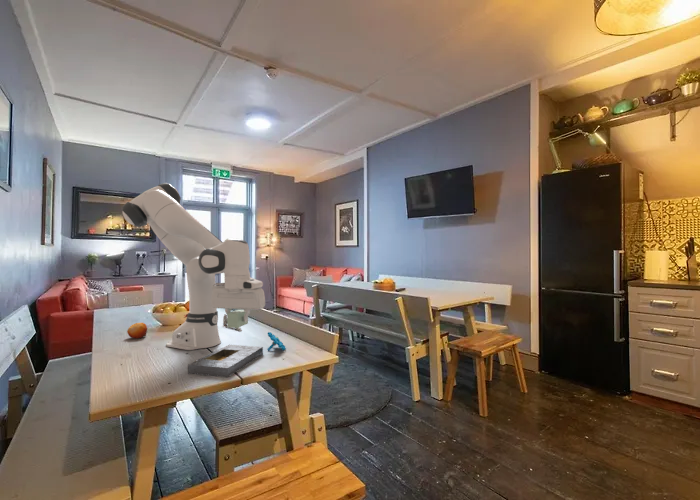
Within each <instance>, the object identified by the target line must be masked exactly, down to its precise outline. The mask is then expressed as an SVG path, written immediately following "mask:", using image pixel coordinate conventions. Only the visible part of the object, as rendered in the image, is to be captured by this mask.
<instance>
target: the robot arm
mask: <svg viewBox="0 0 700 500" xmlns="http://www.w3.org/2000/svg"><path fill="white" fill-rule="evenodd" d="M181 201H182V200H181V196H180V193H179V191H178V190H177V188H175V187H174V186H173V185H172V184H171V183H168V182H162V183H160V184H158V185H156V186H154V187H152V188H149V189H147V190H145V191H143V192H142V193H140V194H139V195H137V196H136V197H134V198H132V199H131V200H130V201H126V202H125V203H124V204H123V205H122V207H121V213H122V216H123V218H124V220H125V221H126V222H128V223H129V225H132V226H133V227H135V228H136V227H137V228H141V227H144V226H147V224H148V225H149V226H150V228H151V230H152V232H153V233H154V234H155V235H156V237H157V238H158V239H159V241H160V242H161V243H162V245H164V246H165V248H166V249H168V251H169V252H170V253H171V254H172V255H173V257H175V258H176V259H178V260H179V262H181V263H182V264H184V266H185V267H186V268H185V271H186V280H187V281H186V282H187V289H188V294H189V295H188V297H189V298H188V299H189V300H188V301H189V303H188V304H189V307H188V308H189V311H188V313H186V314H184V315H183V318H186V319H185V322H183V323H182V324H181V325H179V326H178V327H177V328H176V329H174V331H173V332H172V337H171V340H170V341H168V342H166V344H165V347H168V348H175V349H180V350H185V351H193V350H197V349H198V350H199V349H206V348H211V347H215V346H218V345H220V344H221V343H222V340H221V337H220V334H219V328H218V327H219V326H218V320H219V311H218V309H224V311H225V314H226V315H227V313H230V312H233V311H232V310H233V309H234V310H244V312H246V313H245V315H244V316H242V321H243V322H246V321H248V322H249V315H250V313H251V310H257V311H258V310H262V309H264V308H265V306H266V296H265V291H264V289H263V288H262V287H263V286H264V282H263V281H262V280H260V279H259V280H258V279H255V278H253V277H251V273H250V270H249V269H250V261H251V258H250V257H251V256H250V247H249V244H248V242H247V241H246V240H243V239H240V238H233V237H229V238H226V239H225V240H224V241H222V240H221V239H219V238H218V237H217V236H216V235H215V234H214V233H213V232H212V231H210V230H209V229H207V227H206V226H204V225H203V224H202V223H200V221H198V220H197V219H196V218H195V217H194V216H193V215H191V213H190V212H188V211H187V210H186V208H184V207H183V205H181ZM217 274H224V282H216V275H217Z"/></svg>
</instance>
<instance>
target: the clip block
mask: <svg viewBox="0 0 700 500" xmlns="http://www.w3.org/2000/svg"><path fill="white" fill-rule="evenodd" d="M245 313H246V312H244V309H235V310H233V311H231V312H230V313H227V314H226V315H227V325H226V326H227V328H231V329H232V328H233V329H235V328H239V327H240V328H241V327H242V326H243V327H244V326H245V325H248V324H249V320H248V321H246V322H243V321H242V316H244V315H245Z"/></svg>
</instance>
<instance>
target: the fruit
mask: <svg viewBox="0 0 700 500" xmlns="http://www.w3.org/2000/svg"><path fill="white" fill-rule="evenodd" d="M126 333H127V335H128V336H129V337H130V338H131V339H135V340H138V339H142V338H144V337H147V333H148V327H147V324H145V323H144V322H136V323H134V324H131V325H130V326H128V328H127V330H126Z"/></svg>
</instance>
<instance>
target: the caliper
mask: <svg viewBox="0 0 700 500" xmlns="http://www.w3.org/2000/svg"><path fill="white" fill-rule="evenodd" d="M222 322H223V323H222V324H223V326H227V314H226V313H225V314H224V315H223V319H222ZM234 329H235V330H236V331H238V332H242V331H243V330H242V328H241V327H239V328H234Z"/></svg>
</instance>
